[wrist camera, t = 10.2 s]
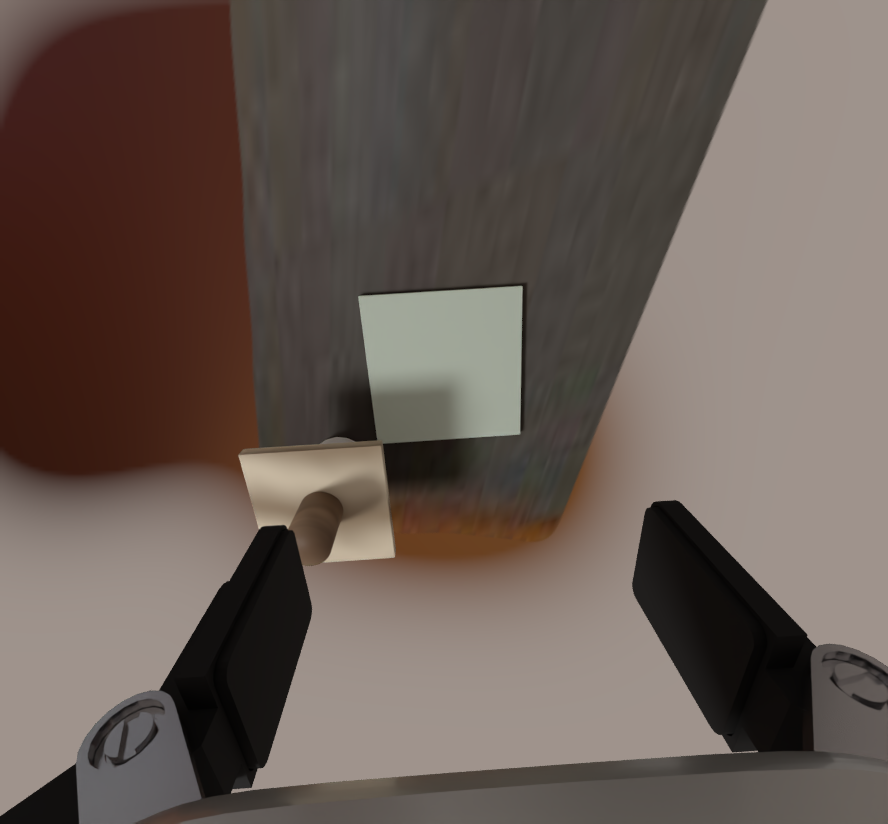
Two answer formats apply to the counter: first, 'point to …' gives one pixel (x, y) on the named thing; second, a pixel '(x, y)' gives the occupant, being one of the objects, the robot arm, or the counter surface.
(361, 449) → the lid
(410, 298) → the mat
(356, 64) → the counter surface
